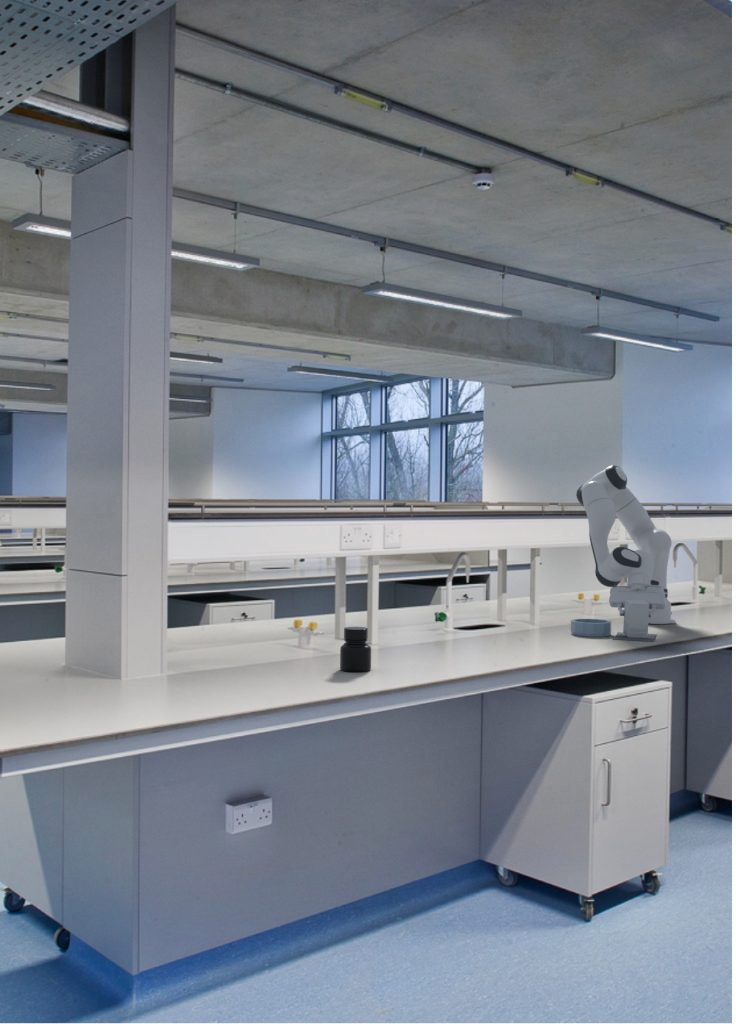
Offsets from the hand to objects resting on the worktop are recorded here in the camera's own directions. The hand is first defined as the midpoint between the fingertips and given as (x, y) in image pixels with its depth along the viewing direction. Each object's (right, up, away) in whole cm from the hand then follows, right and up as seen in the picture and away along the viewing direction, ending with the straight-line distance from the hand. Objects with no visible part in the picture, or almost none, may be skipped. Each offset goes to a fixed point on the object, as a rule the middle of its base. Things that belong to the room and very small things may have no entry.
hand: (635, 615), depth 342 cm
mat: (0, -8, +1) cm, 8 cm away
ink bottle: (-102, -7, -75) cm, 126 cm away
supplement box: (0, -7, +1) cm, 7 cm away
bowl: (-15, -8, +7) cm, 18 cm away
